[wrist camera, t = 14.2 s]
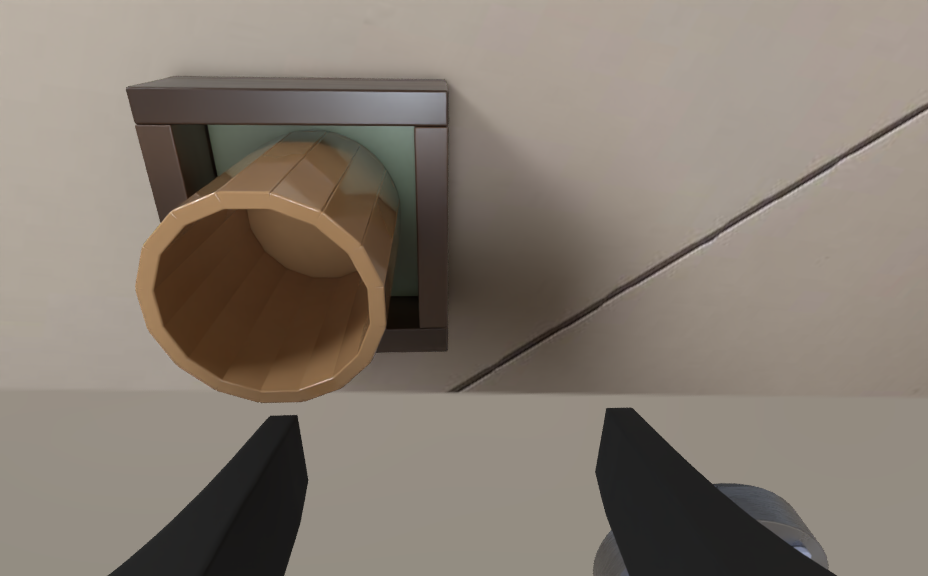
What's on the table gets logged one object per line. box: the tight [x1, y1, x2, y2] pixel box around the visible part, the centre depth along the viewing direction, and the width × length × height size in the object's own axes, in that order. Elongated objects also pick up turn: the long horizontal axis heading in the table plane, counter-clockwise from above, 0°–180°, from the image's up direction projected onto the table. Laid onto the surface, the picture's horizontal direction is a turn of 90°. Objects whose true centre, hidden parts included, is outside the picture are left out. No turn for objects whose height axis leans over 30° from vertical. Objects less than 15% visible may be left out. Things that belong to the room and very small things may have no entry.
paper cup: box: [135, 129, 401, 403], centre depth 15 cm, size 6×6×7 cm
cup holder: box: [126, 76, 449, 353], centre depth 18 cm, size 9×9×3 cm
